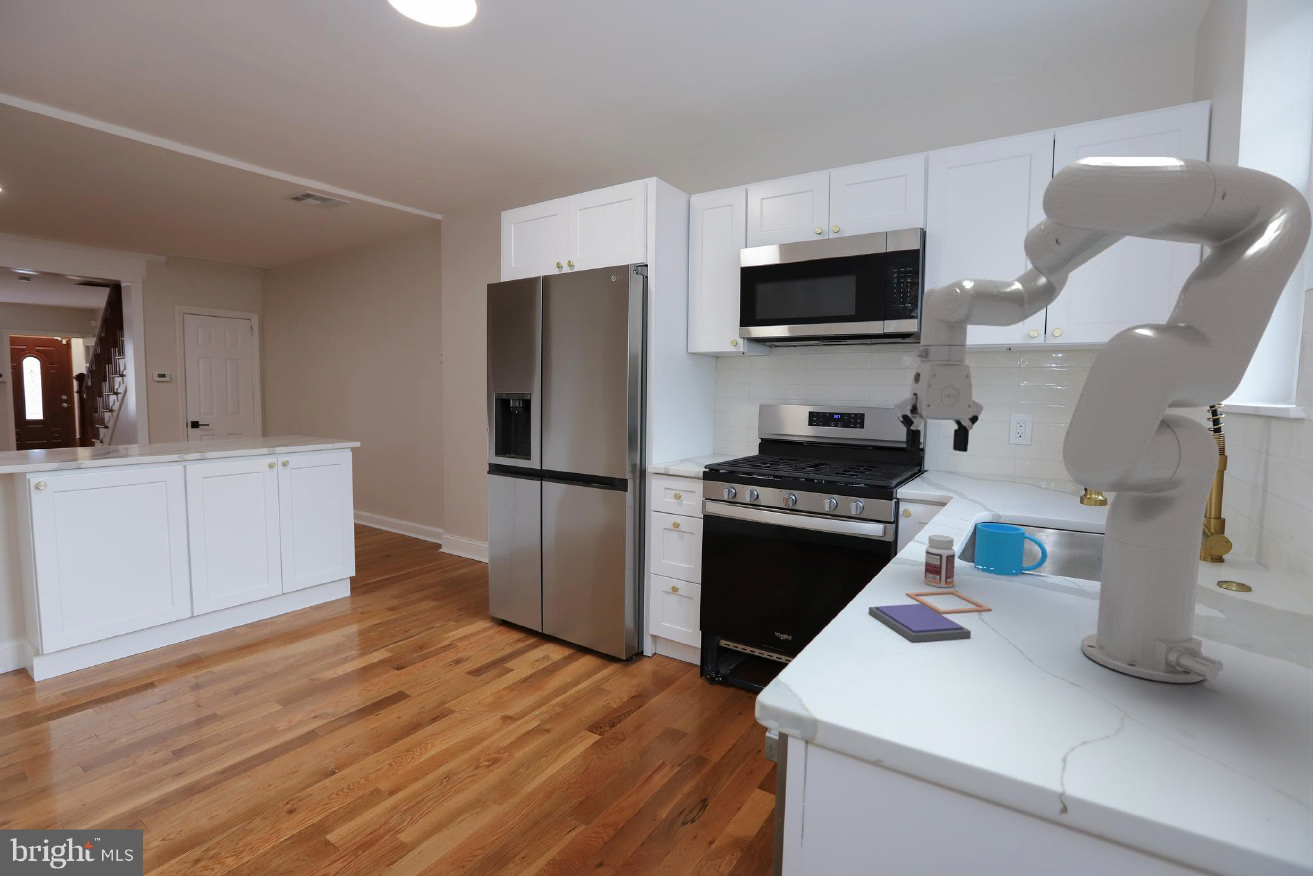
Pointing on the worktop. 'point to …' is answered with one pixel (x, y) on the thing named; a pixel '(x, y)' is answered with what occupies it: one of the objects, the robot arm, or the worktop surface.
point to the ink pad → (919, 623)
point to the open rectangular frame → (982, 608)
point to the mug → (1003, 549)
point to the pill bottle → (939, 561)
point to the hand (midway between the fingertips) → (936, 451)
